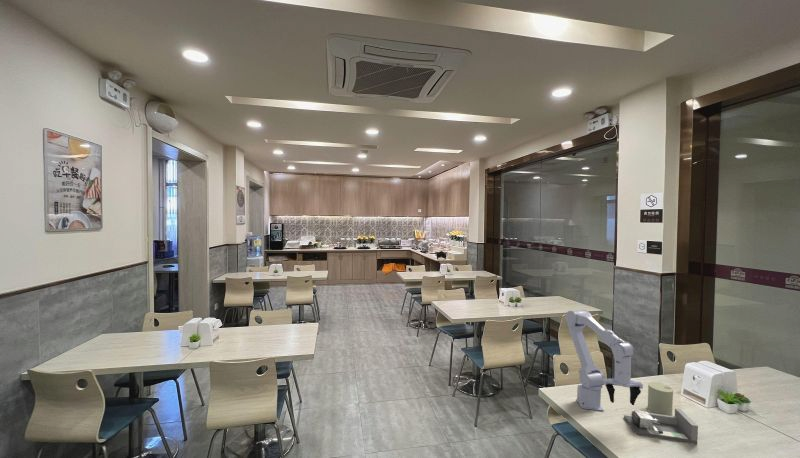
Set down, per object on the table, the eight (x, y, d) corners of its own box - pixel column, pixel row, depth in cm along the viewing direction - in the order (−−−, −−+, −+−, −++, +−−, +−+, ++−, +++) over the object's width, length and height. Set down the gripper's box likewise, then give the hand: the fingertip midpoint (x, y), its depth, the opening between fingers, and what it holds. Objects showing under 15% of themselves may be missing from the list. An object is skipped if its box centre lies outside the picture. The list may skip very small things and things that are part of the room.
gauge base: (636, 434, 136) (636, 417, 136) (624, 417, 148) (624, 401, 147) (697, 444, 131) (698, 425, 131) (679, 425, 142) (680, 409, 142)
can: (677, 418, 147) (678, 392, 147) (653, 416, 149) (654, 389, 149) (665, 407, 156) (666, 382, 156) (643, 404, 158) (644, 379, 158)
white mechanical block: (641, 432, 135) (641, 422, 135) (630, 418, 144) (631, 409, 144) (666, 436, 133) (667, 426, 133) (655, 422, 142) (655, 412, 142)
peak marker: (659, 433, 133) (659, 431, 133) (655, 428, 137) (655, 426, 136) (662, 434, 133) (663, 431, 133) (658, 429, 136) (658, 426, 136)
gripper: (607, 373, 140) (606, 405, 140) (646, 377, 137) (645, 410, 137) (601, 366, 147) (600, 397, 147) (638, 369, 143) (637, 401, 144)
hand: (621, 402), depth 142 cm, fingers open, 7 cm apart
